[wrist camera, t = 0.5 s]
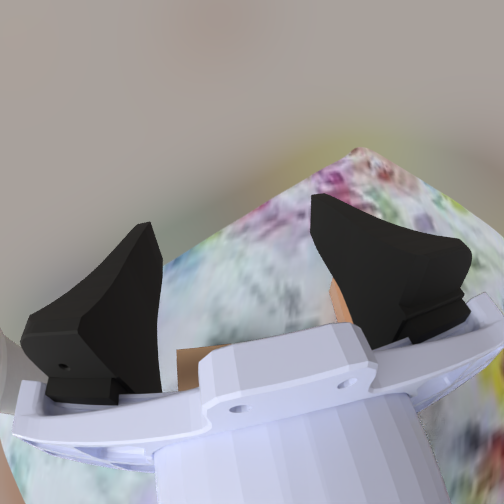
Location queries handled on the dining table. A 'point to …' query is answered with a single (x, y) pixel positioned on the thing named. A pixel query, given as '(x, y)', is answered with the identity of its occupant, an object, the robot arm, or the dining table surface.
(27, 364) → the coffee cup
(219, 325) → the dining table surface
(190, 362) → the walnut block
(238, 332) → the dining table surface
